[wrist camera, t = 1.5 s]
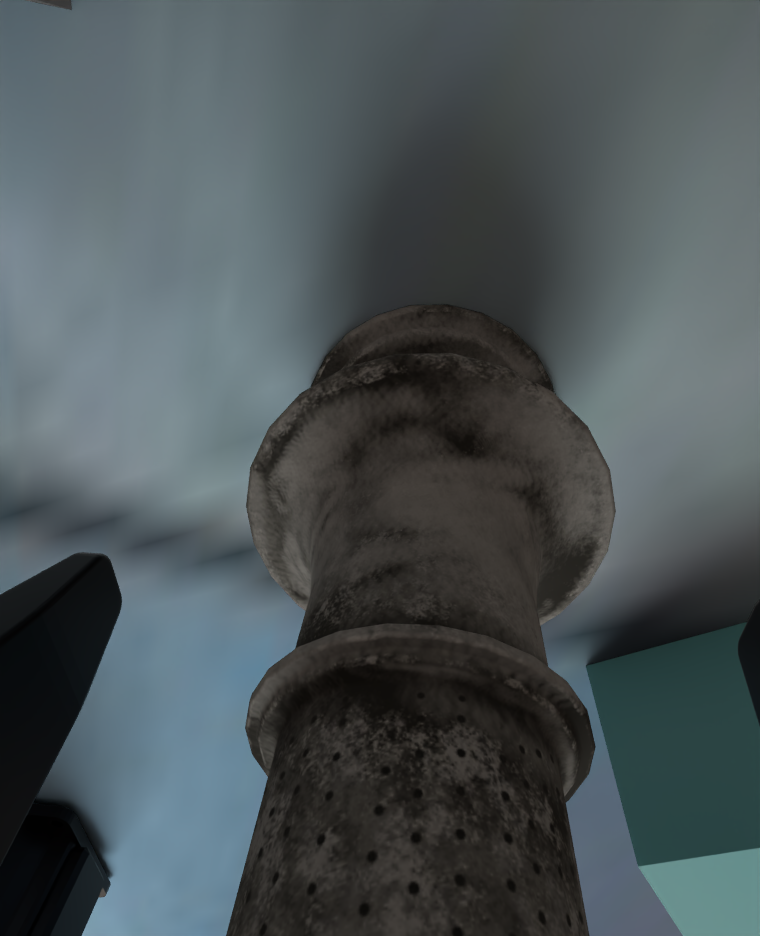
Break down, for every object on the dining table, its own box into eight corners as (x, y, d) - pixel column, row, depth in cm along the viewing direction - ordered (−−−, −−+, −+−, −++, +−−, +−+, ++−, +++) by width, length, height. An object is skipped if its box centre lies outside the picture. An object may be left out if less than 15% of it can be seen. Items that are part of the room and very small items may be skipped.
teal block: (641, 764, 18) (703, 967, 14) (585, 664, 16) (638, 866, 12) (821, 726, 16) (956, 943, 12) (785, 608, 14) (933, 821, 10)
